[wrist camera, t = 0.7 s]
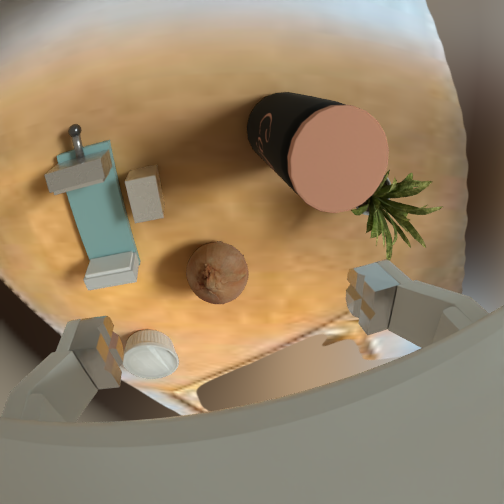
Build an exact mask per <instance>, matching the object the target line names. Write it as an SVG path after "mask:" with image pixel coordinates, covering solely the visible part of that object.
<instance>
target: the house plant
mask: <svg viewBox="0 0 504 504" xmlns="http://www.w3.org/2000/svg"><path fill="white" fill-rule="evenodd" d="M389 171H390V170H389ZM389 171H388V172H387V173H386V175H384V177H383V180H382V182H381V183H380V185H379V186H378V188H377V189H376V191H375V192H374V194H373V195H371V196H370V197H369V198H368V199H367V200H366V201H365V202H364V203H363V204H361V205H359V206H357V207H356V208H357V209H354V210H351V211H352V212H353V213H354V214H355V215H361V214H364V215H369V217H368V222H367V231H366V233H367V232H369V231H371V230H372V231H371V237H370V238H374V237H377V240H378V236H379V235H380V234H381V233H382V236H383V245H385V236H386V244H387V250H386V252H387V260H389V261H390V259H391V255H392V245H393V244H394V243H395V242H396V240H397V232H398V233H399V234H400V236H401V237H402V239H403V240H404V241H405V242H406V243H407V244H408V246H409V247H410V248H411V246H410V243H409V241H408V239H407V237H406V236H405V234H404V233H403V231H402V230H401V229H400V227H399V226H398V225H397V224H396V223H395V222H394V221H393V220H392V219H391V218H390V216H389V214H391V215H392V216H393V217H394V218H395V219H396V221H397V222H398V223H399V224H400V226H402V227H403V228H404V229H405V231H407V232H408V231H409V233H410V234H411V235H412V236H413V237H414V239H416V240H417V241H418V242H420V243H421V245H422V246H423V247H425V248H426V246H425V243H424V241H423V239H422V238H421V236H420V235H419V233H418V232H417V231H416V230H415V228H414V227H413V226H412V224H411V223H410V222H409V220H410V219H407V218H406V216H407V214H408V213H410V214H416V215H426V214H429V213H431V212H434V211H437V210H439V209H441V208H442V207H435V208H424V207H426V206H427V205H426V206H424V207H421V208H418V207H414V206H411V205H406V204H402V203H398V202H395V201H391V200H389V199H390V198H400V197H408V196H413V195H416V194H418V193H420V192H421V191H422V190H424V189H425V188H426V187H428V186H429V184H430V183H432V182H431V181H423V182H421V181H416V180H412V178H413V174H412V173H410V174H409V175H408V176H407V177H406V178H405V179H404V180H403V181H402V182H400V183H397V180H396V179H395V178H394V181H393V184H391V183H390V180H389V179H388V174H389ZM419 186H420V187H419ZM413 187H418V188H415V189H413ZM383 209H384V210H385V211H386V212H385V211H384V210H383ZM387 212H388V213H389V214H388V213H387ZM383 215H384V216H383ZM384 217H385V218H386V219H387V220H388V221H389V222H390V223H391V224H392V225H393V227H394V233H395V235H394V241H393V243H392V237H391V234H390V231H389V229H388V226H387V223H386V220H385V218H384ZM384 232H385V235H384ZM376 246H377V243H376Z"/></svg>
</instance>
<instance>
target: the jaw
mask: <svg viewBox="0 0 504 504" xmlns="http://www.w3.org/2000/svg"><path fill="white" fill-rule="evenodd" d="M68 133H69V135H70V136H71V137H72V141H73V146H74V150H75V155H76V158H74V159H70V160H67V161H64V162H61V163H58V164H56V165H55V166H54V167H53V168H52V169H50V170H49V171H48V172H47V173H46V174H45V179H46V182H47V186H48V189H49V192H50V193H51V192H54V195H57V194H61V193H64V192H68V191H71V190H75V189H79V188H83V187H87V186H90V185H94V184H98V183H103V182H104V181H105V179H106V178H107V176H108V175H109V173H110V169H111V168H112V161H111V157H110V152H109V149H107V150H103V151H99V152H95V153H92V154H88V155H84V151H83V146H82V142H81V137H80V133H81V127H80V126H79V125H78V124H74V125H72V126H71V127H70V128H69V131H68Z"/></svg>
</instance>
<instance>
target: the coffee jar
mask: <svg viewBox="0 0 504 504" xmlns="http://www.w3.org/2000/svg"><path fill="white" fill-rule="evenodd" d="M247 133H248V140H249V142H250V144H251V146H252V149H253V150H254V151H255V152H256V153H257V154H258V155H259V156H260V157H261V158H262V159H263V160H264V161H265V162H266V163H267V164H268V165H269V166H270V167H271V168H272V169H273V170H274V171H275V172H276V173H277V174H278V175H279V176H280V177H281V178H282V179H283V180H284V181H285V182H286V183H287V184H288V185H289V186H290V187H291V188H292V189H293V190H294V191H295V192H296V193H297V194H299V196H300V197H301V198H302V199H303V200H304V201H305V203H306V204H308V205H310V206H312V207H314V208H315V209H317V210H319V211H324V212H331V213H338V212H343V211H349V210H351V209H353V208H355V207H357V206H359V205H361V204H363V203H364V202H365V201H366V200H367V199H368V198H369V197H370V196H371V195H373V194H374V192H375V191H376V189H377V188H378V186H379V185H380V183H381V182H382V180H383V177H384V174H385V172H386V169H387V166H388V153H389V149H388V144H387V139H386V135H385V133H384V131H383V129H382V127H381V126H380V124H379V122H378V121H377V120H376V119H375V118H374V117H373V116H371V115H370V114H369V113H368V112H367V111H365V110H363V109H360V108H357V107H355V106H352V105H345V104H342V103H339V102H336V101H331V100H327V99H322V98H317V97H312V96H307V95H301V94H296V93H290V92H283V93H275V94H272V95H270V96H267V97H265V98H264V99H263V100H261V101H260V102H259V103H258V104H257V105H256V106H255V108H254V109H253V111H252V112H251V114H250V116H249V120H248V125H247Z"/></svg>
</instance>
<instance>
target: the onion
mask: <svg viewBox="0 0 504 504" xmlns="http://www.w3.org/2000/svg"><path fill="white" fill-rule="evenodd" d="M186 275H187V280H188V283H189V285H190V287H191V289H192V290H193V292H194V293H195V294H196V295H197V296H198V297H199V298H200V299H202V300H204V301H206V302H209V303H212V304H224V303H227V302H230V301H232V300H234V299H236V298H237V297H238V296H239V295H240V294H241V293H242V291H243V290H244V288H245V286H246V284H247V280H248V266H247V263H246V261H245V259H244V255H242V254H241V253H240V251H238V250H237V249H236V248H235V247H233V246H232V245H229V244H226V243H223V242H222V241H217V242H213V243H208V244H205V245H203V246H201V247H200V248H198V249H197V250H196V251H195V252H194V254H193V255H192V256H191V258H190V260H189V262H188V265H187V270H186Z"/></svg>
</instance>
